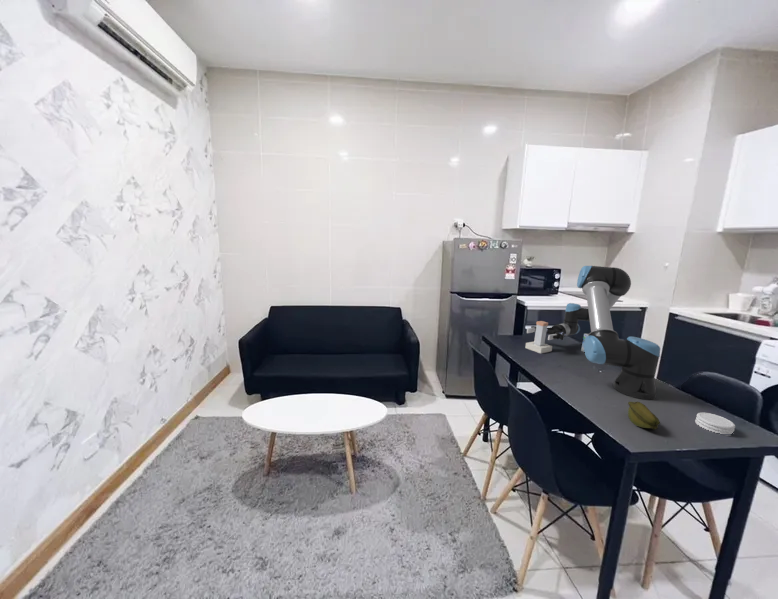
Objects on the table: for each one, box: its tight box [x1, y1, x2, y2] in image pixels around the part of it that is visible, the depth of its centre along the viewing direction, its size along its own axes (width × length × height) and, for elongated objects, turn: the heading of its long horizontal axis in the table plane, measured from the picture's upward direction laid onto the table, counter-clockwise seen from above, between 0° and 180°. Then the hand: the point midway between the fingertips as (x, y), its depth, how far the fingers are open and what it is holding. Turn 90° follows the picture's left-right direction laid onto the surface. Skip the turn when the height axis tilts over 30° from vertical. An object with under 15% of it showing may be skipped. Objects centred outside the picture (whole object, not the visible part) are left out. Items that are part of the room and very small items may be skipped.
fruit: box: [627, 401, 661, 430], centre depth 120 cm, size 11×12×7 cm
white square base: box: [525, 341, 553, 354], centre depth 194 cm, size 10×10×4 cm
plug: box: [533, 320, 549, 346], centre depth 192 cm, size 4×4×16 cm
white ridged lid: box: [694, 412, 736, 435], centre depth 120 cm, size 10×10×4 cm
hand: (537, 334), depth 191 cm, fingers open, 13 cm apart
